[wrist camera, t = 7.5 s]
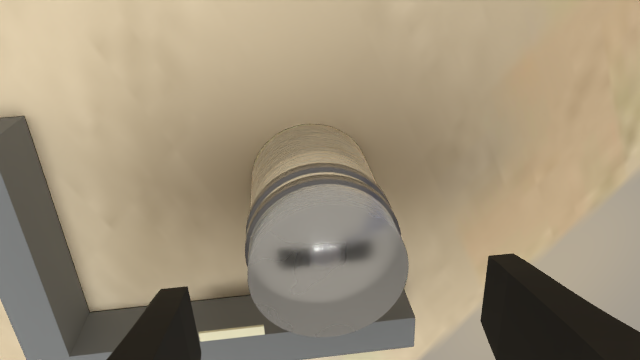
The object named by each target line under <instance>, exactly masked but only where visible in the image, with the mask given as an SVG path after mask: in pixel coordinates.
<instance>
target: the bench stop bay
mask: <svg viewBox="0 0 640 360" xmlns="http://www.w3.org/2000/svg"><path fill="white" fill-rule="evenodd" d="M0 299H1V301H2V304H3V306H4V308H5V311H6V313H7V315H8V318H9V320H10V322H11V325H12V327H13V329H14V332H15V334H16V336H17V339H18V341H19V343H20V346H21V348H22V350H23V353H24V355H25V357H26V360H106V359H107V358H108V357H109V356H110V355H111V353H112V352H113V351H114V350H115V348H116V347H117V346H118V345H119V343H120V342H121V341H122V339H123V338H124V337H125V336H126V334H127V333H128V332H129V331H130V329H131V328H132V327H133V325H134V324H135V323H136V321H137V320H138V319H139V317H140V316H141V315H142V313H143V312H144V311H145V309H146V308H147V307H148V306H146V307H136V308H127V309H118V310H108V311H99V312H90V313H89V310H88V307H87V304H86V301H85V298H84V295H83V292H82V289H81V286H80V283H79V280H78V277H77V274H76V271H75V268H74V265H73V262H72V259H71V256H70V253H69V250H68V247H67V244H66V241H65V238H64V235H63V232H62V229H61V226H60V223H59V220H58V217H57V213H56V210H55V207H54V204H53V201H52V198H51V195H50V192H49V189H48V186H47V183H46V180H45V177H44V174H43V171H42V168H41V165H40V162H39V159H38V156H37V153H36V150H35V147H34V144H33V141H32V138H31V135H30V132H29V129H28V126H27V123H26V120H25V117H24V116H20V117H7V118H0ZM191 305H192V310H193V315H194V319H195V324H196V329H197V333H198V338H199V343H200V347H201V360H303V359H311V358H320V357H328V356H337V355H346V354H354V353H363V352H371V351H380V350H388V349H397V348H405V347H414V333H415V316H414V313H413V311H412V308H411V306H410V303H409V301H408V298H407V296H406V293H405V291H404V289H403V291H402V293H401V295H400V297H399V298H398V300H397V301H396V303H395V304H394V305H393V306H392V307H391V308H390V310H388V311H387V312H386V313H385V314H384V315H383V316H382V317H380V318H379V319H378V320H376V321H375V322H373V323H372V324H370V325H368V326H366V327H364V328H362V329H360V330H358V331H355V332H352V333H349V334H344V335H340V336H333V337H309V336H303V335H298V334H295V333H292V332H289V331H287V330H284V329H282V328H280V327H279V326H277V325H275V324H274V323H272V322H271V321H270V320H268V319H267V318H266V317H265V316H264V315H263V314H262V313H261V312H260V310H259V309H258V308H257V306H256V305H255V303H254V301H253V299H252V297H251V295H248V296H239V297H230V298H220V299H211V300H202V301H192V302H191Z"/></svg>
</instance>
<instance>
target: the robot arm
mask: <svg viewBox="0 0 640 360" xmlns="http://www.w3.org/2000/svg"><path fill="white" fill-rule="evenodd" d="M481 323H482V326H483V328H484V331H485V334H486V336H487V339H488V342H489V344H490V346H491V349H492V351H493V353H494V356H495V359H496V360H640V332H638V331H637V330H635V329H633V328H632V327H630V326H628V325H626V324H625V323H623V322H621V321H619V320H617V319H616V318H614V317H612V316H611V315H609V314H607V313H606V312H604V311H602V310H601V309H599V308H597V307H596V306H594V305H593V304H591V303H589V302H587V301H586V300H585V299H583V298H581V297H580V296H578V295H577V294H575V293H574V292H572V291H570V290H569V289H567V288H566V287H564V286H562V285H561V284H560V283H558V282H557V281H555V280H554V279H552V278H551V277H549V276H548V275H546V274H545V273H543V272H542V271H540V270H538V269H537V268H536V267H534V266H533V265H531V264H529V263H528V262H526V261H525V260H523V259H522V258H520V257H518V256H517V255H515V254H503V255H494V256H489V257H488V265H487V273H486V282H485V290H484V298H483V306H482V314H481ZM106 360H201V347H200V343H199V338H198V333H197V329H196V324H195V319H194V315H193V310H192V305H191V301H190V296H189V291H188V287H178V288H168V289H161V290H160V291H159V292H158V293H157V294H156V296H155V297H154V298H153V300H152V301H151V302H150V304H149V305H148V307H147V308H146V309H145V311H144V312H143V313H142V315H141V316H140V317H139V319H138V320H137V321H136V323H135V324H134V325H133V327H132V328H131V329H130V331H129V332H128V333H127V334H126V336H125V337H124V338H123V339H122V341H121V342H120V343H119V345H118V346H117V347H116V348H115V350H114V351H113V352H112V353H111V355H110V356H109V357H108V358H107V359H106Z"/></svg>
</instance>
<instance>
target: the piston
mask: <svg viewBox="0 0 640 360" xmlns="http://www.w3.org/2000/svg"><path fill="white" fill-rule="evenodd" d="M245 257H246V263H247V267H248V286H249V291H250V294H251V297H252V299H253V301H254V303H255V305H256V306H257V308H258V309H259V310H260V312H261V313H262V314H263V315H264V316H265V317H266V318H267V319H268V320H270V321H271V322H272V323H274V324H275V325H277V326H279V327H280V328H282V329H284V330H287V331H289V332H292V333H295V334H298V335H303V336H309V337H333V336H340V335H344V334H349V333H352V332H355V331H358V330H360V329H362V328H364V327H366V326H368V325H370V324H372V323H373V322H375V321H376V320H378V319H379V318H380V317H382V316H383V315H384V314H385V313H386V312H387V311H388V310H390V308H391V307H392V306H393V305H394V304H395V303H396V301H397V300H398V298H399V297H400V295H401V293H402V291H403V289H404V287H405V283H406V280H407V276H408V255H407V251H406V248H405V245H404V243H403V241H402V239H401V233H400V228H399V225H398V221H397V219H396V217H395V215H394V213H393V211H392V209H391V206H390V204H389V202H388V200H387V198H386V196H385V194H384V193H383V191H382V190H381V188H380V187H379V186H378V185H377V183H376V181H375V179H374V177H373V175H372V172H371V170H370V168H369V166H368V164H367V161H366V159H365V157H364V155H363V153H362V151H361V149H360V148H359V146H358V145H357V144H356V143H355V142H354V141H353V139H351V138H350V137H349V136H348V135H347V134H345V133H343V132H342V131H340V130H338V129H335V128H333V127H330V126H326V125H320V124H304V125H298V126H294V127H291V128H288V129H286V130H284V131H282V132H280V133H278V134H277V135H275V136H274V137H273V138H271V139H270V140H269V141H268V142H267V143H266V144H265V145H264V147H263V148H262V149H261V151H260V152H259V154H258V156H257V158H256V160H255V163H254V166H253V171H252V183H251V207H250V211H249V214H248V218H247V225H246V242H245Z"/></svg>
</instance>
